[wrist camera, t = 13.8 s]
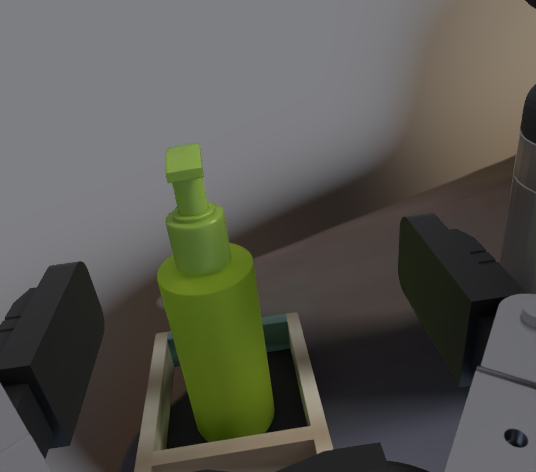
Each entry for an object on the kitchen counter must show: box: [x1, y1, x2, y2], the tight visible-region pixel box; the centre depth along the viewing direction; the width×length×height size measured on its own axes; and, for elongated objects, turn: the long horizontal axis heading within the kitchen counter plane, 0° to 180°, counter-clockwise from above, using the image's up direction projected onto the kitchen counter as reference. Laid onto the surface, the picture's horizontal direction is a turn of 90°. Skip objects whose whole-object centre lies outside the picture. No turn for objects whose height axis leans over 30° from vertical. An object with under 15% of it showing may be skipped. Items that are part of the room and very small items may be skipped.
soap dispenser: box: [157, 143, 275, 442], centre depth 31 cm, size 6×7×20 cm
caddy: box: [134, 312, 333, 472], centre depth 30 cm, size 24×12×3 cm, turn 6°
